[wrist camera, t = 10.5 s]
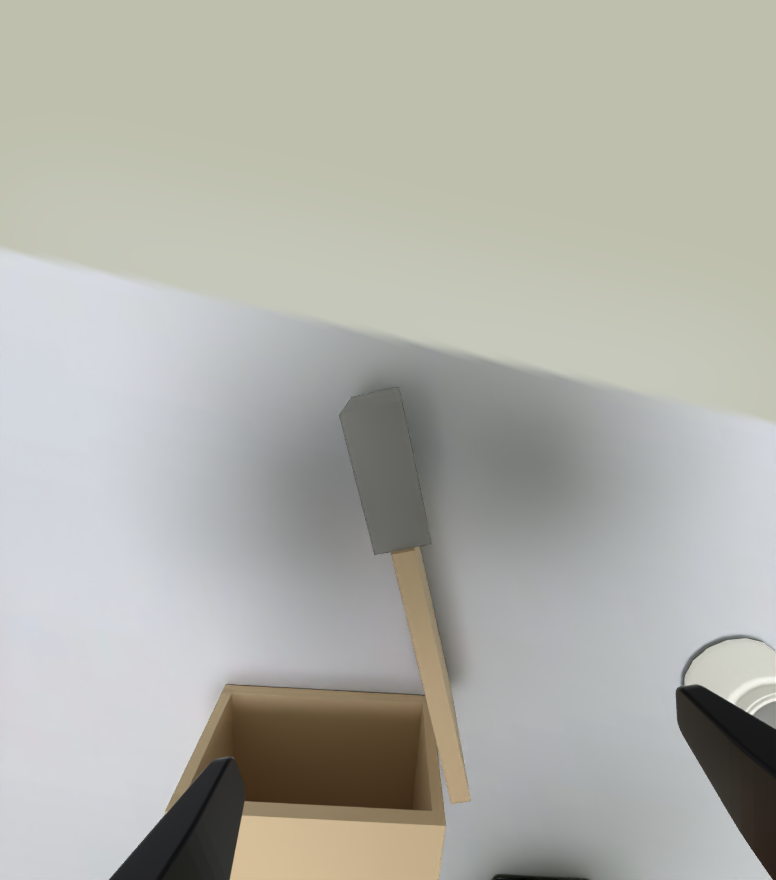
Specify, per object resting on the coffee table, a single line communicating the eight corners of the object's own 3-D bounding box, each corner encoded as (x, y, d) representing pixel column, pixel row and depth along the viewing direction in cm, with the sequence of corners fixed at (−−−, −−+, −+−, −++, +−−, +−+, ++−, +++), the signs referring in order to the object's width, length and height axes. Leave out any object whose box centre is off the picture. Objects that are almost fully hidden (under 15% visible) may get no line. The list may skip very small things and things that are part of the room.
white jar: (730, 616, 21) (659, 678, 22) (785, 660, 18) (700, 730, 19) (793, 665, 21) (721, 724, 22) (855, 716, 18) (770, 780, 19)
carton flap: (462, 685, 21) (485, 798, 16) (425, 692, 21) (436, 806, 16) (398, 384, 17) (401, 402, 12) (354, 393, 18) (338, 416, 12)
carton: (430, 695, 22) (445, 826, 16) (416, 829, 24) (425, 985, 18) (225, 684, 22) (165, 811, 16) (231, 820, 24) (181, 973, 18)
